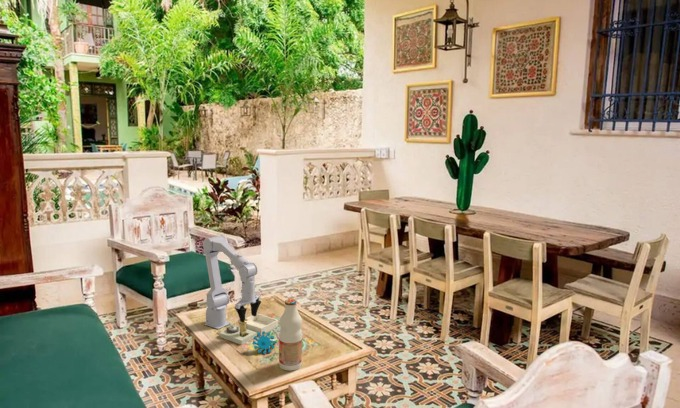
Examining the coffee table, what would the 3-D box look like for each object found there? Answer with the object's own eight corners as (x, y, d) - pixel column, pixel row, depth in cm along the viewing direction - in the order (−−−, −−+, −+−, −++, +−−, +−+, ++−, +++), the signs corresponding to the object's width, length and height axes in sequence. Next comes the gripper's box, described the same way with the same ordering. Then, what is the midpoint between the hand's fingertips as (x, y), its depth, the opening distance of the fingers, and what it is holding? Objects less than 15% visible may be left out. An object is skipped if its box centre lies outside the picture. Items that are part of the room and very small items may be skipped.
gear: (253, 353, 198) (252, 330, 204) (250, 358, 202) (250, 335, 208) (278, 353, 202) (277, 330, 208) (275, 357, 206) (274, 335, 212)
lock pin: (236, 338, 214) (236, 320, 213) (242, 335, 218) (242, 317, 216) (243, 341, 212) (242, 322, 211) (249, 337, 216) (249, 319, 214)
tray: (239, 328, 225) (239, 321, 225) (256, 319, 236) (256, 313, 235) (261, 335, 218) (261, 328, 218) (278, 326, 228) (278, 319, 228)
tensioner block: (219, 336, 216) (219, 328, 215) (234, 329, 224) (234, 321, 224) (241, 344, 209) (241, 336, 208) (256, 336, 217) (256, 328, 216)
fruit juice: (291, 373, 186) (292, 307, 181) (274, 366, 191) (274, 301, 186) (306, 364, 193) (307, 300, 188) (289, 357, 198) (290, 294, 194)
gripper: (243, 296, 203) (243, 326, 205) (265, 287, 215) (265, 315, 217) (231, 293, 206) (231, 322, 209) (253, 284, 219) (253, 311, 221)
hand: (248, 318), depth 213 cm, fingers open, 7 cm apart
